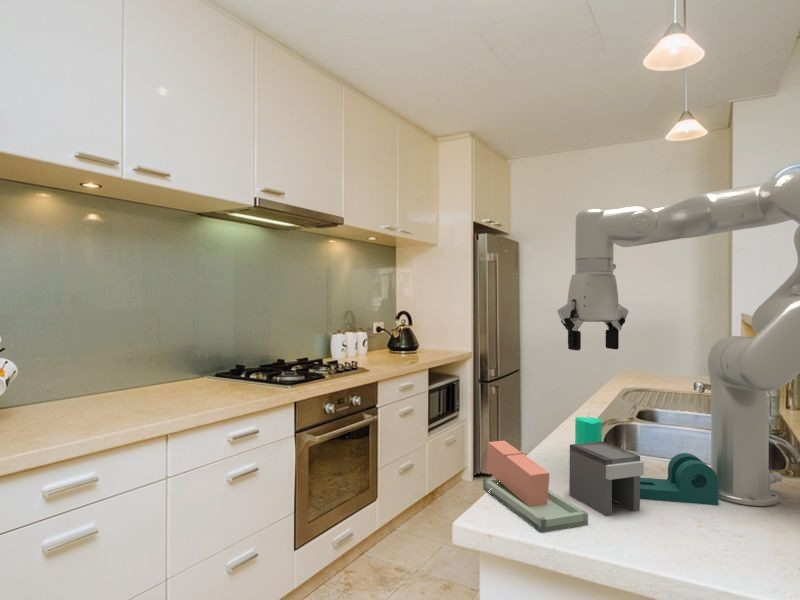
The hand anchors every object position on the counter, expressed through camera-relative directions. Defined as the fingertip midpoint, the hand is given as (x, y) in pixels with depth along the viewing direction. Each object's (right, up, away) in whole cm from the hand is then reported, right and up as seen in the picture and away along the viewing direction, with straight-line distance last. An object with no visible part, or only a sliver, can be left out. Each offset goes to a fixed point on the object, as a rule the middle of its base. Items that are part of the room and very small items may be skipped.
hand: (593, 349), depth 106 cm
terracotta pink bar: (-18, -27, -6) cm, 33 cm away
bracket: (+11, -29, -6) cm, 31 cm away
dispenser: (-2, -28, -10) cm, 30 cm away
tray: (-16, -28, -12) cm, 35 cm away
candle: (+4, -29, +13) cm, 32 cm away
